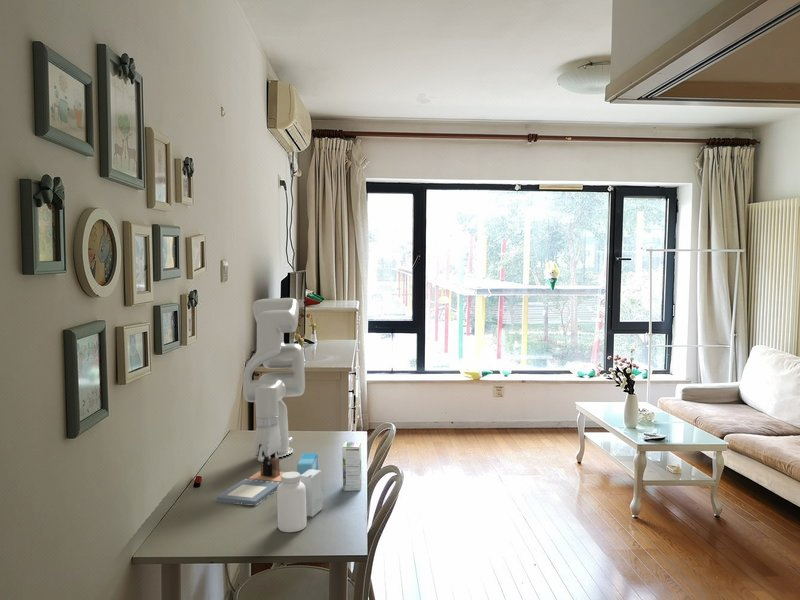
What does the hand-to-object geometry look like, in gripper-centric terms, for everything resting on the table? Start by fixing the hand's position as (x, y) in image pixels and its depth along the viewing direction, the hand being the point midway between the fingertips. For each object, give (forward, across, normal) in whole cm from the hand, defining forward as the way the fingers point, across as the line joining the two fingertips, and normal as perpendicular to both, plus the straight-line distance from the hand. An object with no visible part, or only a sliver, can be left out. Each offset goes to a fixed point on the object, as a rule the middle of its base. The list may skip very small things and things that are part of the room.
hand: (270, 473), depth 206 cm
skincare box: (+2, +21, +26) cm, 33 cm away
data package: (+2, +9, +19) cm, 21 cm away
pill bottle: (+2, +31, +25) cm, 40 cm away
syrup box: (+2, 0, +30) cm, 30 cm away
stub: (+2, 0, 0) cm, 2 cm away
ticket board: (+2, +13, 0) cm, 13 cm away
